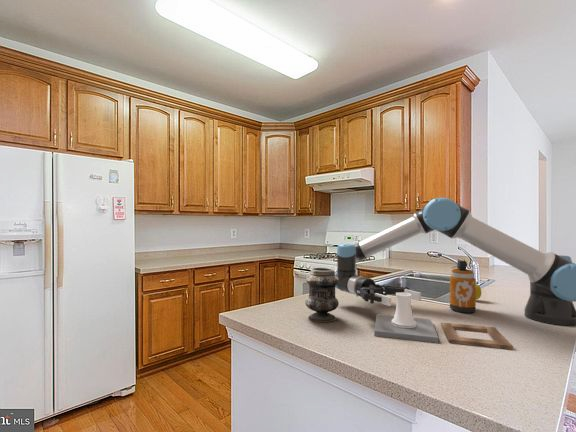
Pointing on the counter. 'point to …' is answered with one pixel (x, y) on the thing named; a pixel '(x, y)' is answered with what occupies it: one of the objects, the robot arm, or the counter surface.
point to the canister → (462, 289)
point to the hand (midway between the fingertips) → (405, 299)
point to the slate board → (405, 329)
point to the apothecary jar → (322, 294)
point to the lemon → (478, 292)
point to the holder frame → (452, 337)
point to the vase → (403, 311)
